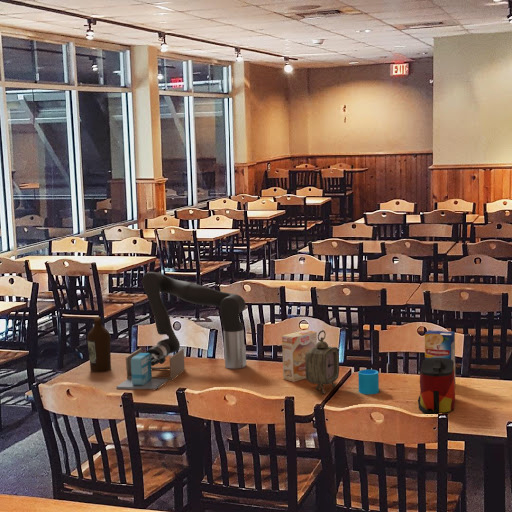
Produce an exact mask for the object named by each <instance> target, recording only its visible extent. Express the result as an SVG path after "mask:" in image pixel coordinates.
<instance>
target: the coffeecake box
mask: <svg viewBox="0 0 512 512" xmlns="http://www.w3.org/2000/svg"><path fill="white" fill-rule="evenodd" d="M281 343H282V344H281V345H282V346H281V347H282V376H283V377H282V378H283V380H285V381H286V380H287V381H289V382H297V381H301V380H305V379H306V371H305V356H306V353H307V352H308V351H309V350H311V349H313V348H315V347H316V345H317V343H318V334H317V331H313V330H308V329H305V330H302V331H301V330H299V331H297V332H292V333H288V334H287V333H286V334H283V335H281Z"/></svg>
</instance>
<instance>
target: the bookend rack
mask: <svg viewBox="0 0 512 512" xmlns="http://www.w3.org/2000/svg"><path fill="white" fill-rule="evenodd" d="M184 350H185V349H183V348H182V349H180V350H178V351H177V352H175V354H174V355H172V356H171V357H170V358H169V367H168V366H167V367H163V366H162V367H161V366H159V367H157V366H151V369H170V370H169V371H170V374H169V377H167V376H166V377H163V376H152V378H151V379H167V381H170V380H172V379H173V380H175V379H176V378H177V377H178V376H180V375H181V374H182V373H183V372H185V371H186V370H185V352H184ZM142 351H143V350H142V347H141V348H139V349H137V350H136V351H133V352H132V353H131V354H129V355H127V356H125V365H126V380H127V379H128V378H132V372H131V359H132V357H134V356H136V355H138V354H139V353H143V352H142ZM184 370H185V371H184ZM182 371H183V372H182ZM181 372H182V373H181ZM180 373H181V374H180ZM179 374H180V375H179ZM177 375H178V376H177ZM176 376H177V377H176ZM175 377H176V378H175ZM174 378H175V379H174ZM173 380H172V381H173Z"/></svg>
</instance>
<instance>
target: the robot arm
mask: <svg viewBox="0 0 512 512" xmlns="http://www.w3.org/2000/svg"><path fill="white" fill-rule="evenodd" d="M141 284H142V287H143V291H144V293H145V295H146V297H147V300H148V303H149V305H150V308H151V311H152V315H153V318H154V323H155V326H156V327H155V328H156V330H157V334H158V335H160V336H163V335H164V336H165V335H166V336H167V337H168V338H165V339H161V340H159V341H157V343H156V344H155V345H153V346H151V347H150V348H148V349H147V350H146V351H145V353H150V355H151V367H155V366H156V365H159V364H160V365H162V364H164V363H165V362H166V360H167V359H166V358H167V357H168V356H169V355H170V354H172V353H178V352H179V351H180V349H181V345H180V341H179V339H178V337H177V335H176V334H175V332H174V330H173V327H172V322H171V317H170V314H169V312H168V310H167V308H166V306H165V305H164V303H163V300H162V297H161V294H160V293H165V294H169V295H172V296H175V297H176V298H179V299H180V300H182V301H185V302H187V303H190V304H193V305H199V306H211V307H212V306H213V307H218V308H219V309H220V320H221V325H222V328H223V347H224V349H223V350H224V366H225V368H227V369H234V370H235V369H244V368H245V367H246V366H247V350H246V348H247V347H246V344H245V332H244V330H245V329H244V323H243V322H241V318H240V317H241V315H240V314H241V313H242V312H243V311H244V310H245V308H246V300H245V299H244V298H243V297H242V296H241V295H239V294H235V293H231V292H225V291H220V290H216V289H213V288H210V287H208V286H205V285H201V284H198V283H195V282H190V281H185V280H181V279H180V280H178V279H175V278H173V277H169V275H168V276H167V275H165V274H163V273H161V272H158V271H157V272H155V271H149V272H148V271H147V272H146V273H145V274H143V276H142V280H141ZM132 358H133V357H132Z"/></svg>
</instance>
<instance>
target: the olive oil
mask: <svg viewBox="0 0 512 512" xmlns="http://www.w3.org/2000/svg"><path fill="white" fill-rule="evenodd" d="M93 319H94V320H93V327H92V328H91V329H90V331H88V333H87V338H86V339H87V340H86V341H87V348H88V349H87V350H88V355H89V369H90V371H91V372H93V373H103V372H108V371H111V369H112V362H111V361H112V358H111V356H112V355H111V334H110V332H109V330H108V329H106V328H105V326H103V324H102V317H101V316H94V317H93Z"/></svg>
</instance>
